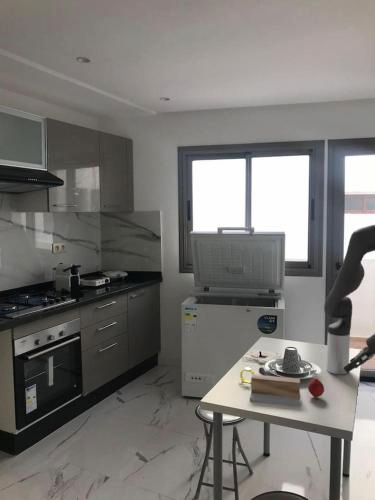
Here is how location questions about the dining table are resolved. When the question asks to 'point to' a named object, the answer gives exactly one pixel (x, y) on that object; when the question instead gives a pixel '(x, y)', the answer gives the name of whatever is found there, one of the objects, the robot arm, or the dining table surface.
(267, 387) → the ridge
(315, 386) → the onion
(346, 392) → the dining table surface
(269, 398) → the ridge base
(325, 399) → the dining table surface
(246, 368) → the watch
